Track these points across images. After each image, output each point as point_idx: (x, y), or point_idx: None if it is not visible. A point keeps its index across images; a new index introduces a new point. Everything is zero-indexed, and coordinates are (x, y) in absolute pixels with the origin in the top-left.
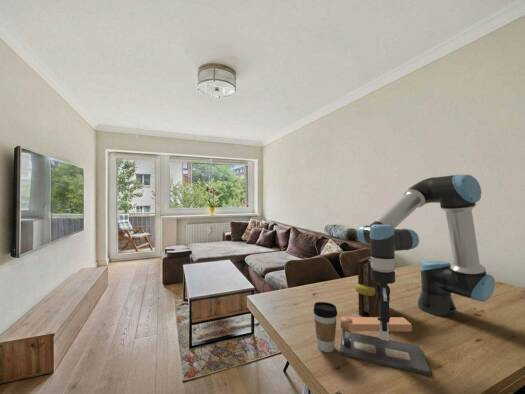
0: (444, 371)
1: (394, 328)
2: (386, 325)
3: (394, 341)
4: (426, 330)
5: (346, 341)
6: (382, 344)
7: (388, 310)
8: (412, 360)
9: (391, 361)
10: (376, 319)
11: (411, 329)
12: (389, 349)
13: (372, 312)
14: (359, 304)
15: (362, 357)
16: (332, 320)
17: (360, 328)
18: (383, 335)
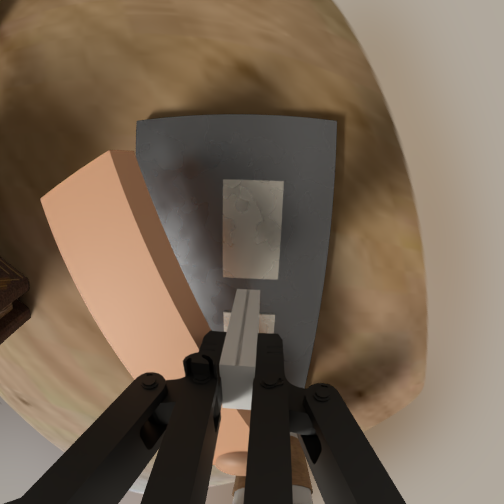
0: (279, 63)
1: (171, 266)
2: (283, 364)
3: None
4: (24, 99)
5: None
6: (193, 281)
7: (387, 482)
8: (278, 172)
9: (316, 263)
10: (151, 369)
11: (129, 152)
12: (228, 259)
13: (10, 290)
14: (7, 337)
15: (310, 352)
16: (303, 495)
17: None
18: (258, 328)
